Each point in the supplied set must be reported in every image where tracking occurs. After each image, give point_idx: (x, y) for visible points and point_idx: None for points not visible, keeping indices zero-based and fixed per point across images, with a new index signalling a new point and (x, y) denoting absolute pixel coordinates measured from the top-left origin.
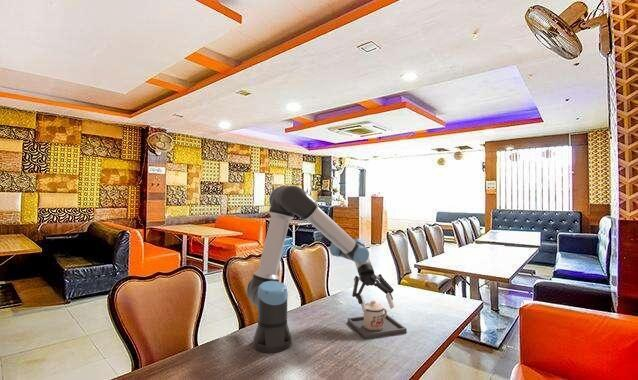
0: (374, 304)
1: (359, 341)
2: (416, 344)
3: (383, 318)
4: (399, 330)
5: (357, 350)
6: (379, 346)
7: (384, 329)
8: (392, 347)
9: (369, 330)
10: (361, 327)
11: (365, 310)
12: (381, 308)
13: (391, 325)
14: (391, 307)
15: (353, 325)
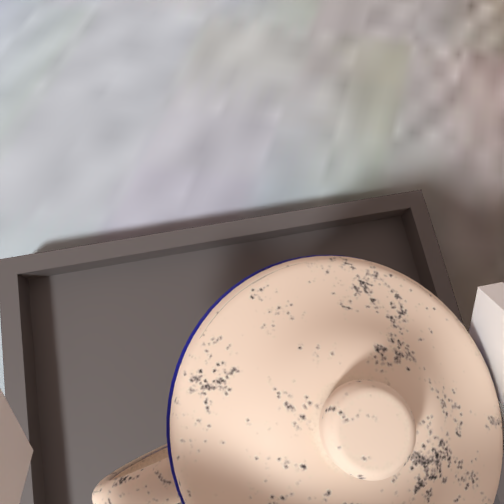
0: (353, 351)
1: (448, 173)
2: (43, 79)
3: (165, 445)
4: (80, 248)
5: (476, 63)
6: (321, 89)
7: None
8: (236, 65)
9: None
10: None
11: (474, 324)
12: (237, 297)
13: (92, 417)
14: (17, 426)
15: None
